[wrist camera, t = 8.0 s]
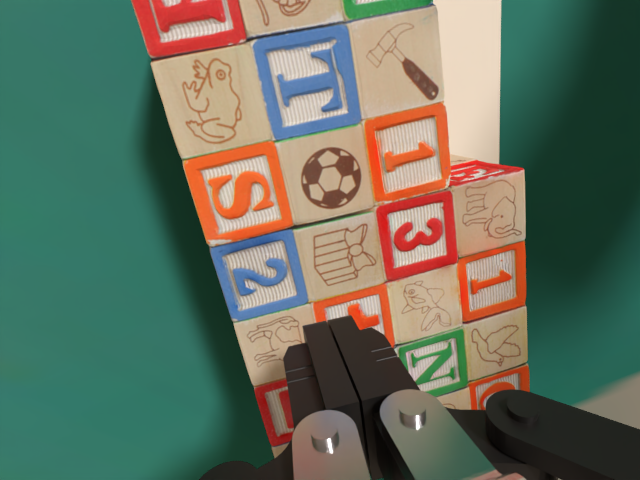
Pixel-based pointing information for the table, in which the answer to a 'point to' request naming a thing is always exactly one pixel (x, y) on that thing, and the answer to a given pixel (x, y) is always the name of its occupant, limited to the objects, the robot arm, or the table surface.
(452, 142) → the mat
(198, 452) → the table surface
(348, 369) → the robot arm
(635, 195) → the table surface
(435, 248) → the stack of blocks
